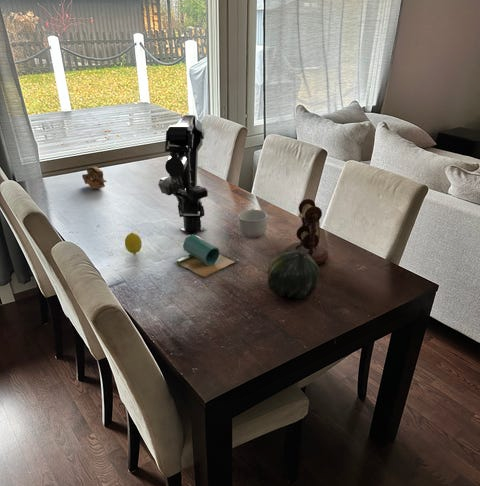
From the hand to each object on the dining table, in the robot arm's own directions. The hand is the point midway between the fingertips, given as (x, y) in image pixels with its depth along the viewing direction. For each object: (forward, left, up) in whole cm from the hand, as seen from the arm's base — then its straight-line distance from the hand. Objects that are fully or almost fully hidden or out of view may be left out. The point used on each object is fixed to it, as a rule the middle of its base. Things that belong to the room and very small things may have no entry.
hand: (184, 211), depth 149 cm
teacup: (+9, +25, -13) cm, 30 cm away
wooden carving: (-79, +9, -13) cm, 80 cm away
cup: (+7, -4, -8) cm, 11 cm away
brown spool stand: (+36, +22, -13) cm, 45 cm away
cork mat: (+15, -4, -13) cm, 20 cm away
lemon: (-8, -17, -13) cm, 23 cm away
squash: (+46, +2, -13) cm, 48 cm away
